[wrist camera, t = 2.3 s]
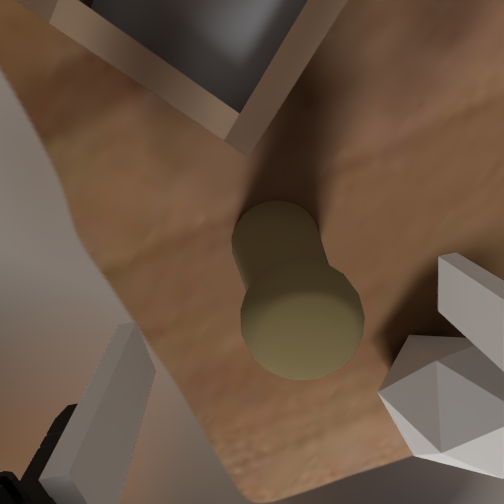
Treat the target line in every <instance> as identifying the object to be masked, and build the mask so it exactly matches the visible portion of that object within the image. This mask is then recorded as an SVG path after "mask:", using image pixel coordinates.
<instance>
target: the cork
mask: <svg viewBox="0 0 504 504" xmlns="http://www.w3.org/2000/svg"><path fill="white" fill-rule="evenodd" d="M232 253H233V255H234V258H235V261H236V264H237V267H238V269H239V272H240V275H241V278H242V281H243V283H244V286H245V289H246V294H245V297H244V300H243V304H242V307H241V332H242V336H243V338H244V340H245V342H246V345H247V347H248V349H249V351H250V353H251V355H252V356H253V357H254V358H255V359H256V360H257V361H258V362H259V363H260V364H261V365H262V366H263V367H264V368H265V369H267V370H268V371H270V372H272V373H274V374H276V375H278V376H280V377H283V378H288V379H293V380H310V379H316V378H319V377H322V376H325V375H328V374H331V373H332V372H334V371H335V370H337V369H339V368H340V367H342V366H343V365H344V364H345V363H346V362H347V361H348V360H349V359H350V358H351V357H352V356H353V354H354V353H355V351H356V349H357V347H358V344H359V342H360V340H361V338H362V335H363V329H364V318H365V317H364V312H363V308H362V305H361V301H360V298H359V294H358V293H357V291H356V290H355V289H354V287H353V286H352V285H351V283H350V282H349V281H348V279H347V278H346V277H345V276H344V274H342V273H341V272H339V271H338V270H336V269H334V268H333V267H331V266H330V265H329V264H328V261H327V257H326V254H325V251H324V248H323V245H322V241H321V238H320V235H319V232H318V229H317V225H316V222H315V221H314V219H313V218H312V217H311V215H310V214H309V213H308V211H306V210H305V209H303V208H302V207H300V206H299V205H297V204H295V203H291V202H287V201H284V200H276V201H266V202H264V203H261V204H258V205H256V206H254V207H252V208H251V209H250V210H249V211H247V212H246V213H245V214H243V215H242V217H241V218H240V220H239V221H238V223H237V224H236V226H235V229H234V232H233V236H232Z"/></svg>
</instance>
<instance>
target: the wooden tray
mask: <svg viewBox="0 0 504 504" xmlns="http://www.w3.org/2000/svg"><path fill="white" fill-rule="evenodd" d="M15 1H17V2H18V3H20V4H21V5H23V6H24V7H26V8H27V9H29V10H30V11H32V12H33V13H35V14H36V15H38V16H39V17H41V18H42V19H44V20H45V21H47V22H48V23H50V24H51V25H53V26H54V27H56V28H57V29H59V30H60V31H62V32H63V33H65V34H66V35H67V36H69V37H70V38H72V39H73V40H75V41H76V42H78V43H79V44H81V45H82V46H84V47H85V48H87V49H88V50H90V51H91V52H93V53H94V54H96V55H97V56H99V57H100V58H102V59H103V60H105V61H106V62H108V63H109V64H111V65H112V66H114V67H115V68H117V69H118V70H120V71H121V72H122V73H124V74H125V75H127V76H128V77H130V78H131V79H133V80H134V81H136V82H137V83H139V84H140V85H142V86H143V87H145V88H146V89H148V90H149V91H151V92H152V93H154V94H155V95H157V96H158V97H160V98H161V99H163V100H164V101H166V102H167V103H169V104H170V105H172V106H173V107H175V108H176V109H178V110H179V111H180V112H182V113H183V114H185V115H186V116H188V117H189V118H191V119H192V120H194V121H195V122H197V123H198V124H200V125H201V126H203V127H204V128H206V129H207V130H209V131H210V132H212V133H213V134H215V135H216V136H218V137H219V138H221V139H222V140H224V141H225V142H227V143H228V144H230V145H231V146H233V147H234V148H235V149H237V150H238V151H240V152H241V153H243V154H244V155H246V156H247V157H249V156H250V154H251V153H252V151H253V150H254V148H255V146H256V145H257V143H258V142H259V140H260V139H261V137H262V135H263V134H264V132H265V131H266V129H267V127H268V126H269V124H270V123H271V121H272V120H273V118H274V116H275V115H276V113H277V112H278V110H279V108H280V107H281V105H282V104H283V102H284V101H285V99H286V97H287V96H288V94H289V93H290V91H291V89H292V88H293V86H294V85H295V83H296V81H297V80H298V78H299V77H300V75H301V74H302V72H303V70H304V69H305V67H306V66H307V64H308V62H309V61H310V59H311V58H312V56H313V55H314V53H315V51H316V50H317V48H318V47H319V45H320V43H321V42H322V40H323V39H324V37H325V36H326V34H327V32H328V31H329V29H330V28H331V26H332V24H333V23H334V21H335V20H336V18H337V17H338V15H339V13H340V12H341V10H342V9H343V7H344V5H345V4H346V2H347V1H348V0H15Z"/></svg>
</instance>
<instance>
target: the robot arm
mask: <svg viewBox="0 0 504 504" xmlns="http://www.w3.org/2000/svg"><path fill="white" fill-rule="evenodd" d="M438 311H439V312H440V313H441V314H442V315H443V316H444V317H445V318H446V319H447V320H448V321H449V322H450V323H452V324H453V325H454V326H455V327H456V328H457V329H458V330H459V331H460V332H461V333H462V334H463V335H465V336H466V337H467V338H468V339H469V340H470V341H471V342H472V343H473V344H474V345H475V346H476V347H477V348H479V349H480V350H481V351H482V352H483V353H484V354H485V355H486V356H487V357H488V358H489V359H490V360H492V361H493V362H494V363H495V364H496V365H497V366H498V367H499V368H500V369H501V370H502V371H503V372H504V281H503V280H502V279H500V278H498V277H497V276H495V275H493V274H492V273H490V272H488V271H487V270H485V269H483V268H482V267H480V266H478V265H477V264H475V263H473V262H472V261H470V260H468V259H467V258H465V257H463V256H462V255H460V254H458V253H451V254H446V255H442V256H438ZM155 372H156V370H155V368H154V365H153V363H152V360H151V358H150V355H149V353H148V350H147V348H146V345H145V343H144V340H143V338H142V335H141V333H140V330H139V328H138V325H137V323H136V322H131V323H126V324H122V325H118V327H117V329H116V331H115V333H114V335H113V337H112V339H111V341H110V343H109V345H108V347H107V348H106V350H105V353H104V354H103V356H102V358H101V360H100V362H99V364H98V366H97V368H96V370H95V372H94V374H93V375H92V377H91V379H90V381H89V383H88V385H87V387H86V389H85V391H84V393H83V395H82V397H81V399H80V401H79V403H77V404H73V405H68V406H67V407H66V408H65V409H64V410H63V411H62V412H61V413H60V415H58V417H57V418H56V419H55V420H54V422H53V424H52V425H51V427H50V429H49V431H48V432H47V436H46V437H45V438H44V440H43V441H42V443H41V445H40V448H39V449H38V450H37V452H36V454H35V455H34V457H33V459H32V461H31V462H30V464H29V466H28V468H27V469H26V471H25V473H24V475H23V477H22V478H21V480H20V481H19V480H18V478H17V477H16V476H15V475H14V474H13V472H8V471H3V472H0V504H119V502H120V498H121V495H122V491H123V488H124V484H125V480H126V476H127V473H128V469H129V466H130V462H131V459H132V455H133V452H134V448H135V444H136V441H137V437H138V433H139V430H140V426H141V423H142V419H143V415H144V412H145V408H146V405H147V401H148V397H149V394H150V390H151V387H152V383H153V380H154V376H155Z"/></svg>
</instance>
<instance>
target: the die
mask: <svg viewBox="0 0 504 504" xmlns="http://www.w3.org/2000/svg"><path fill="white" fill-rule="evenodd" d="M378 394H379V396H380V397H381V399H382V401H383V403H384V404H385V406H386V408H387V410H388V411H389V413H390V415H391V417H392V418H393V420H394V422H395V424H396V425H397V427H398V429H399V431H400V432H401V434H402V436H403V438H404V439H405V441H406V443H407V445H408V446H409V448H410V450H411V452H412V453H413V455H414V456H417V457H421V458H425V459H429V460H433V461H436V462H440V463H444V464H448V465H452V466H456V467H460V468H464V469H468V470H471V471H476V472H479V473H483V474H487V475H491V476H495V477H499V478H502V479H504V372H503V371H502V370H501V369H500V368H499V367H498V366H497V365H496V364H495V363H494V362H493V361H492V360H490V359H489V358H488V357H487V356H486V355H485V354H484V353H483V352H482V351H481V350H480V349H479V348H477V347H476V346H475V345H474V344H473V343H472V342H471V341H470V340H469V339H468V338H460V337H441V336H422V335H409V336H408V338H407V340H406V341H405V343H404V345H403V347H402V349H401V350H400V352H399V354H398V356H397V358H396V360H395V361H394V363H393V365H392V367H391V369H390V370H389V372H388V374H387V376H386V378H385V380H384V381H383V383H382V385H381V387H380V389H379V390H378Z"/></svg>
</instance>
